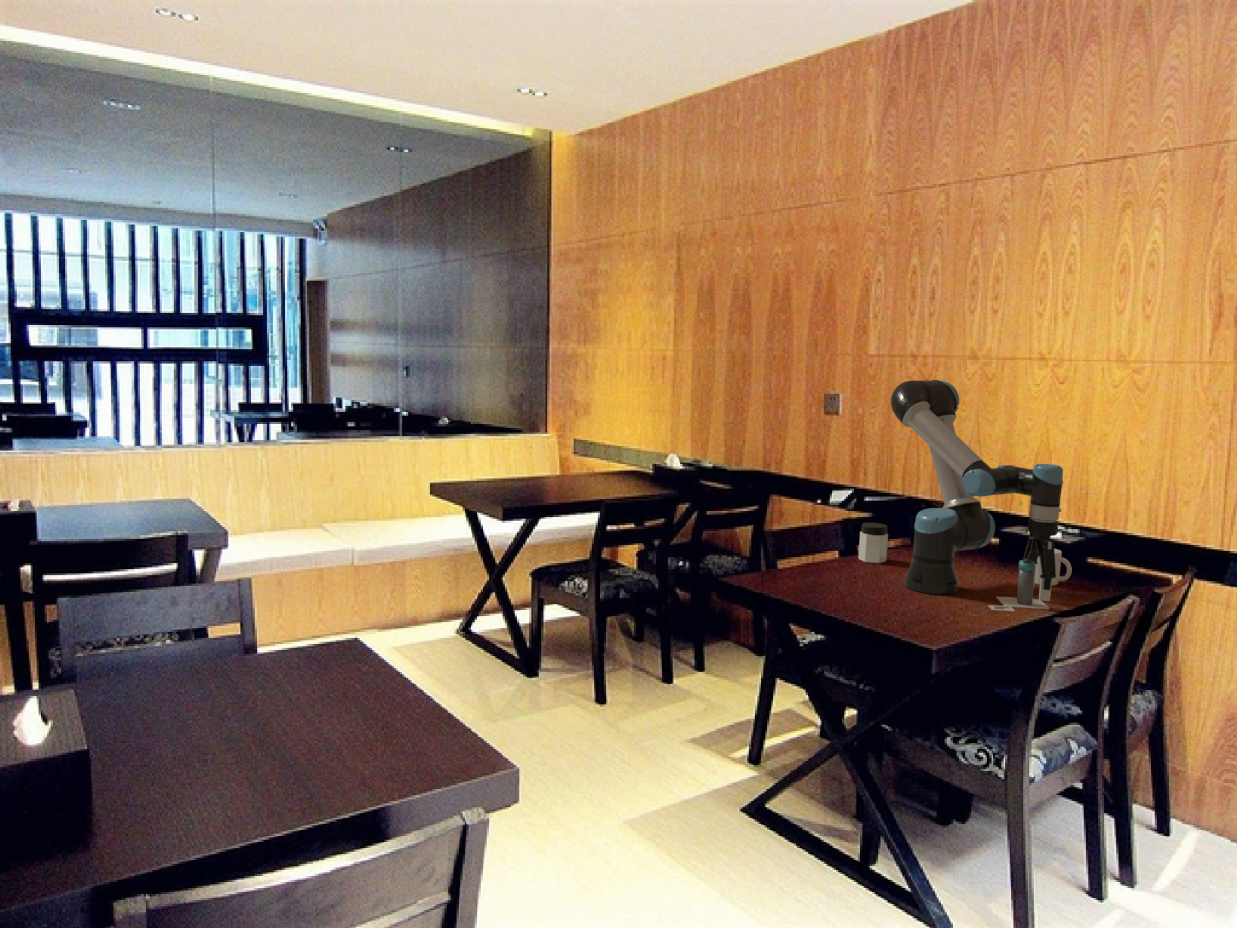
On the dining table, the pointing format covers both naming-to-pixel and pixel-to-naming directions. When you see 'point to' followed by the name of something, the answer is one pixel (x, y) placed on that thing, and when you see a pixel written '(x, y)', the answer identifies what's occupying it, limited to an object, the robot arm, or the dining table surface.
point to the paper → (1013, 603)
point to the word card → (1001, 608)
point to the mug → (1057, 566)
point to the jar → (873, 543)
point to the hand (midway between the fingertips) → (1036, 593)
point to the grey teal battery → (1025, 582)
